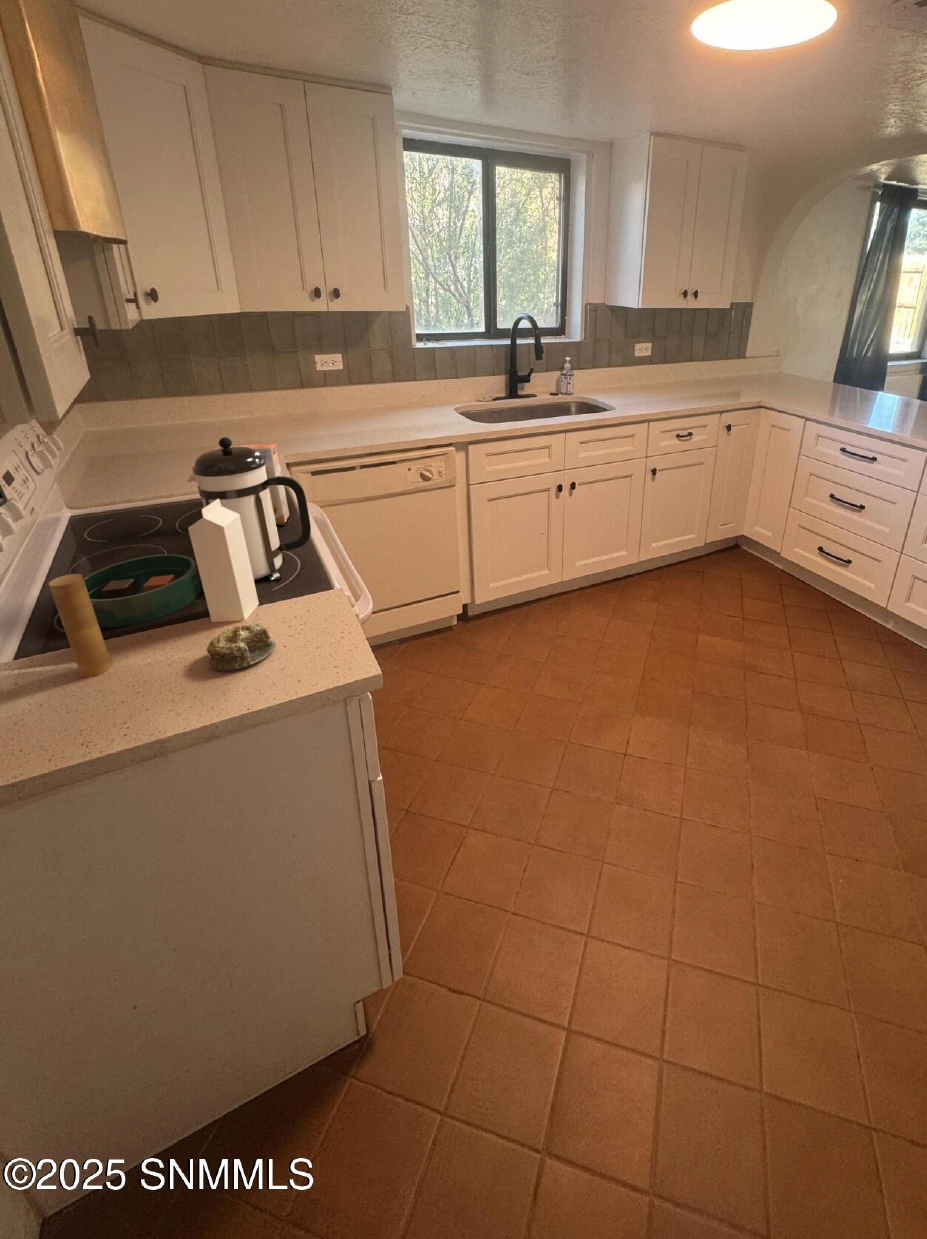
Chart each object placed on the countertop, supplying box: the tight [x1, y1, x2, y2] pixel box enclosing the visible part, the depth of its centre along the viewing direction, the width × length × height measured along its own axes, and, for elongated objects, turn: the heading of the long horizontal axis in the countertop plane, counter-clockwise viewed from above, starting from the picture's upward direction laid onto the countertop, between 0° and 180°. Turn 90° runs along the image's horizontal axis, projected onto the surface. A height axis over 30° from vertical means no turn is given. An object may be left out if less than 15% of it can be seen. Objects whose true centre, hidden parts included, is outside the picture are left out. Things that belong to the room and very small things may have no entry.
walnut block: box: [101, 579, 139, 599], centre depth 110 cm, size 4×4×4 cm
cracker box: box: [213, 442, 290, 523], centre depth 146 cm, size 14×6×21 cm, turn 102°
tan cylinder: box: [48, 573, 113, 678], centre depth 89 cm, size 4×4×16 cm
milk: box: [187, 499, 260, 623], centre depth 103 cm, size 6×6×22 cm
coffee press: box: [187, 436, 312, 584], centre depth 118 cm, size 17×16×30 cm
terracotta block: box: [143, 575, 176, 592], centre depth 112 cm, size 4×4×4 cm
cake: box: [206, 622, 277, 672], centre depth 94 cm, size 10×10×5 cm
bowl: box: [83, 553, 202, 629], centre depth 111 cm, size 19×19×6 cm
